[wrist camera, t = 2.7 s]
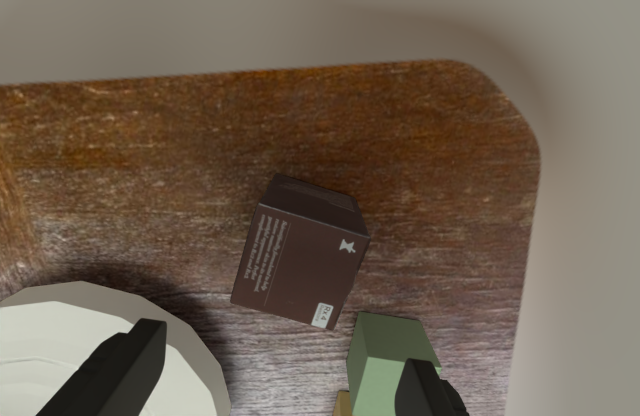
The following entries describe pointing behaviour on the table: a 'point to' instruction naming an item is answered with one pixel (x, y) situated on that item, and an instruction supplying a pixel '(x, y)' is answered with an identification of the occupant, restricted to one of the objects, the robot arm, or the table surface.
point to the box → (301, 253)
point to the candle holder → (85, 336)
